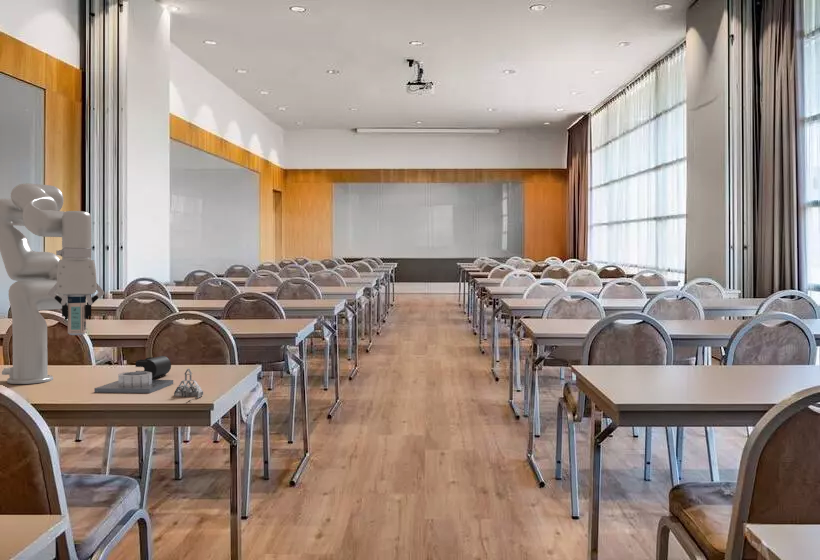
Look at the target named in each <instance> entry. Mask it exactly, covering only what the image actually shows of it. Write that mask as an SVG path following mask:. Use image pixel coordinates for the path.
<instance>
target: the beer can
mask: <svg viewBox="0 0 820 560" xmlns="http://www.w3.org/2000/svg"><path fill="white" fill-rule="evenodd" d="M86 305H87V299H86V295H68V319H67V334H68V335H70V336H81V335H84V334H86V333H87V319H86Z"/></svg>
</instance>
